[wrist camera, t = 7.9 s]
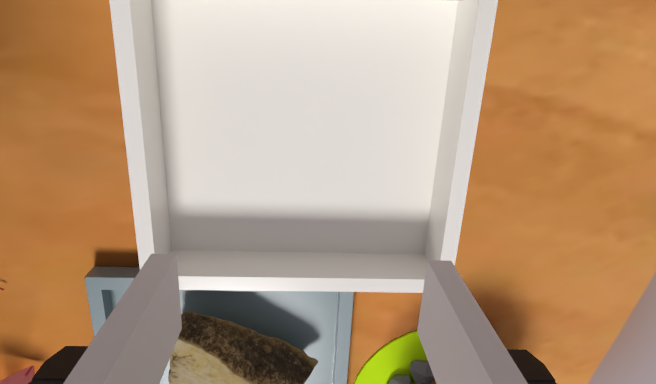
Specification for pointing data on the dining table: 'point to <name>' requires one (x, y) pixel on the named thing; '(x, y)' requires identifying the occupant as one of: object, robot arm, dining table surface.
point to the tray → (252, 316)
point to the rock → (233, 355)
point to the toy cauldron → (398, 363)
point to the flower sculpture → (20, 375)
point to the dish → (301, 137)
